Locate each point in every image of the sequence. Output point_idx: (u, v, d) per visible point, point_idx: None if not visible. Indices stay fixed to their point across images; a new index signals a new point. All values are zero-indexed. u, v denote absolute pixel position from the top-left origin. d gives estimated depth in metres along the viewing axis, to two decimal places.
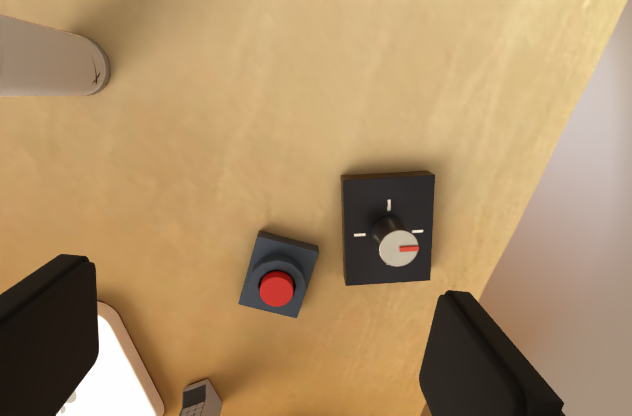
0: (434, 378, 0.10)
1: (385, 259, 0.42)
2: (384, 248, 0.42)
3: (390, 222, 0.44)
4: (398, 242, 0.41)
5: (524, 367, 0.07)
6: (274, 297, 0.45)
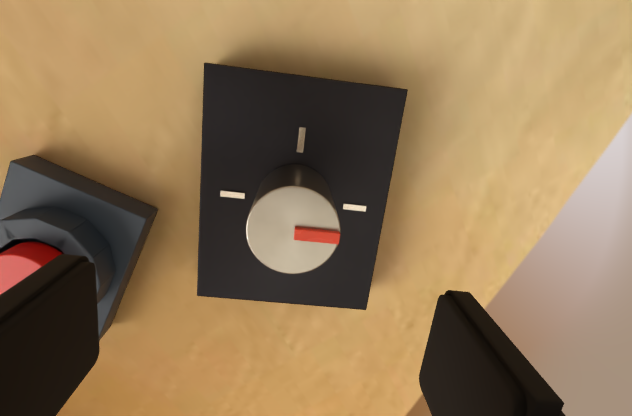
0: (434, 378, 0.10)
1: (258, 252, 0.18)
2: (258, 225, 0.17)
3: (292, 172, 0.19)
4: (293, 216, 0.17)
5: (524, 367, 0.07)
6: None
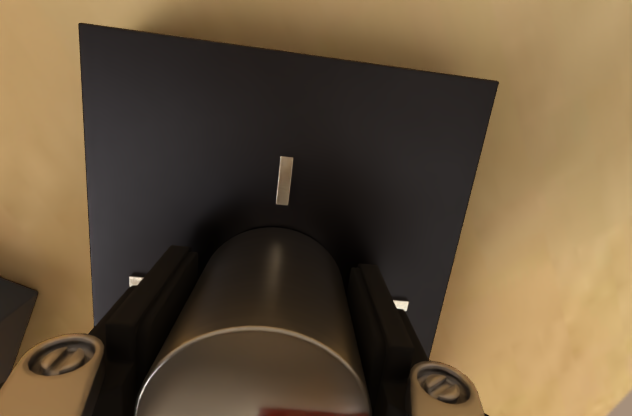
0: None
1: None
2: None
3: (262, 257, 0.09)
4: (254, 397, 0.07)
5: (394, 322, 0.08)
6: None
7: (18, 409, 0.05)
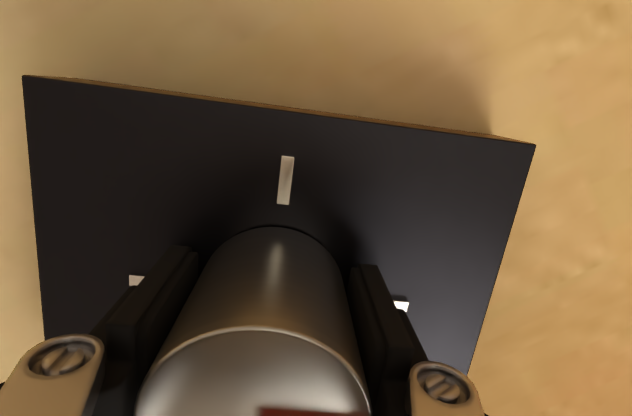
0: None
1: None
2: None
3: (263, 256, 0.09)
4: (254, 397, 0.07)
5: (394, 322, 0.08)
6: None
7: (18, 409, 0.05)
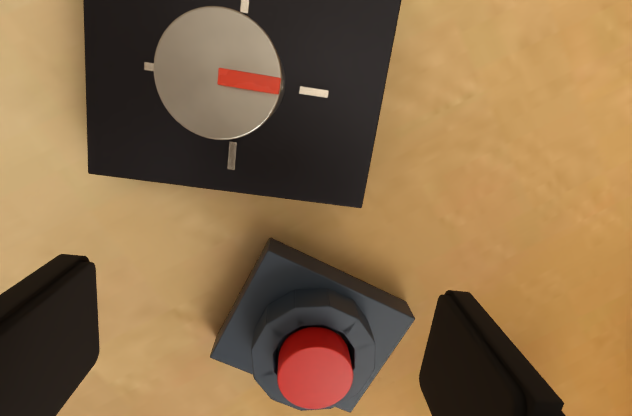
0: (435, 378, 0.10)
1: (172, 104, 0.13)
2: (170, 63, 0.13)
3: None
4: (217, 52, 0.13)
5: (524, 367, 0.07)
6: (328, 384, 0.20)
7: None
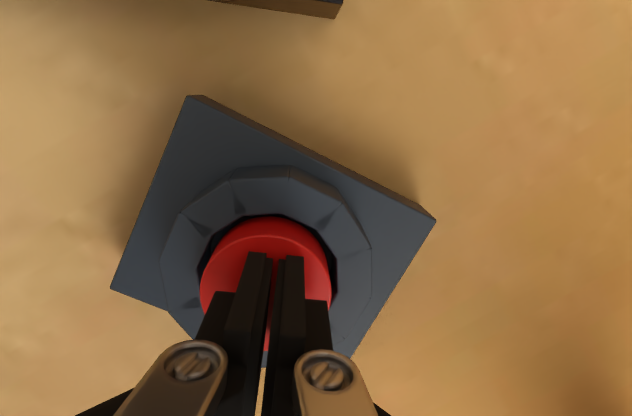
0: None
1: None
2: None
3: None
4: None
5: (295, 311, 0.08)
6: None
7: (147, 408, 0.05)
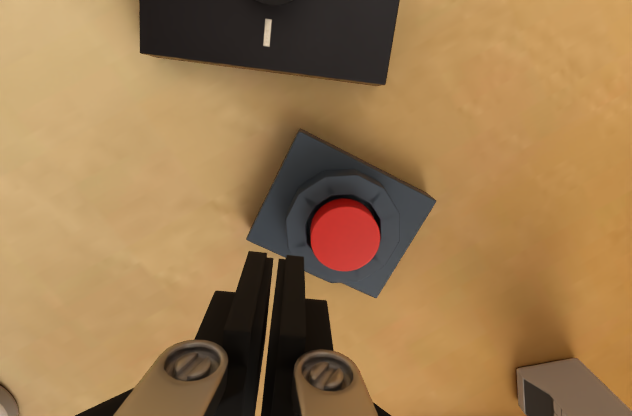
0: None
1: None
2: None
3: None
4: None
5: (296, 311, 0.08)
6: (357, 245, 0.21)
7: (147, 408, 0.05)
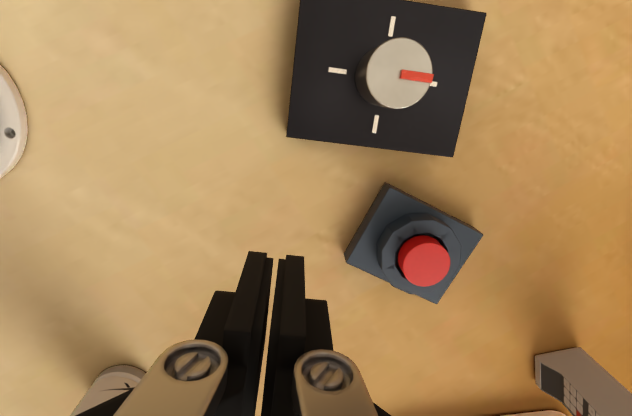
0: None
1: (373, 89, 0.25)
2: (375, 67, 0.24)
3: None
4: (400, 61, 0.24)
5: (296, 311, 0.08)
6: (434, 269, 0.31)
7: (147, 408, 0.05)
